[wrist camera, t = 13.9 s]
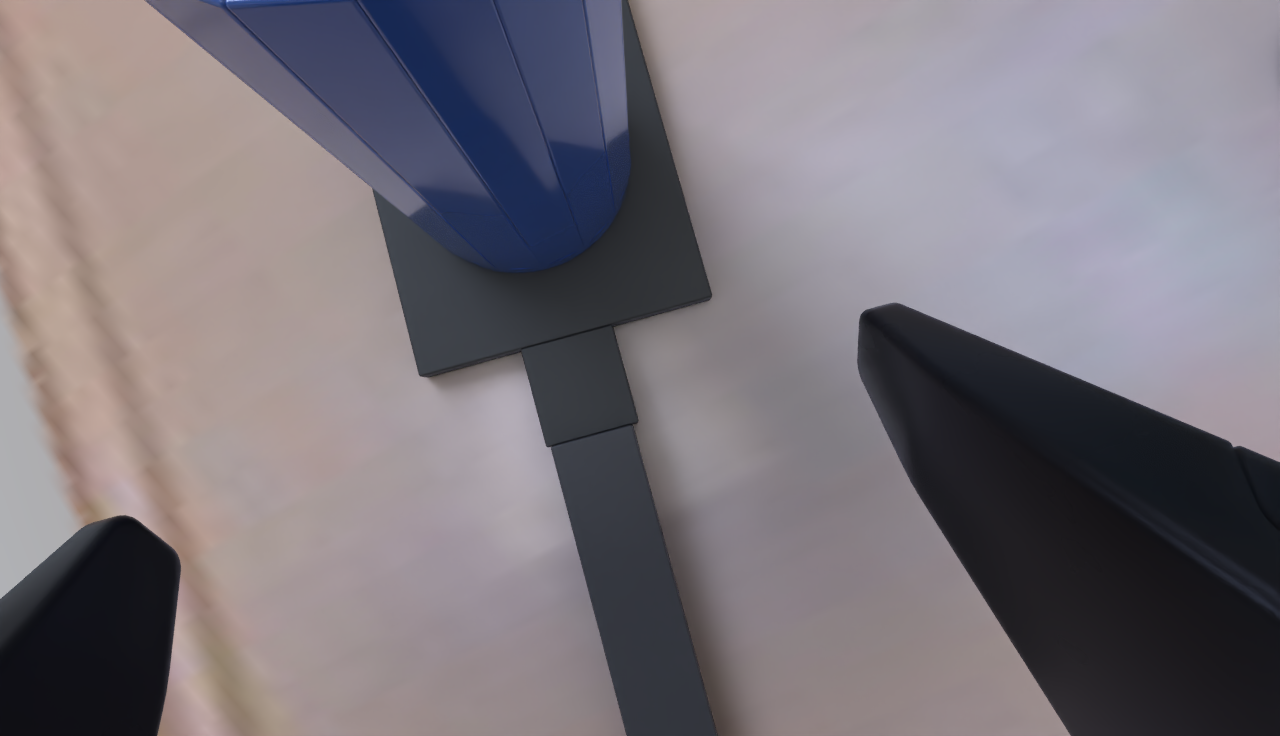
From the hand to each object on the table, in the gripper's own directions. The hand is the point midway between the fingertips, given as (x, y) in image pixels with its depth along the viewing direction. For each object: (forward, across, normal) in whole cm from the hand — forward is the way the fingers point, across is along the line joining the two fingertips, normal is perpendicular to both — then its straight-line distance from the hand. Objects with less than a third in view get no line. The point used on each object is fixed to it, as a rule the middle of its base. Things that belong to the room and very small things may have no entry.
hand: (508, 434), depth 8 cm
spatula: (+8, 0, +8) cm, 11 cm away
